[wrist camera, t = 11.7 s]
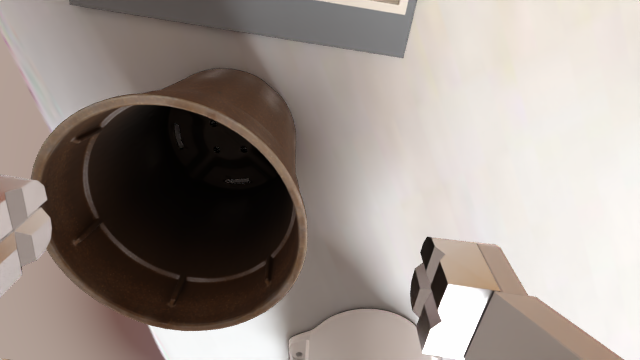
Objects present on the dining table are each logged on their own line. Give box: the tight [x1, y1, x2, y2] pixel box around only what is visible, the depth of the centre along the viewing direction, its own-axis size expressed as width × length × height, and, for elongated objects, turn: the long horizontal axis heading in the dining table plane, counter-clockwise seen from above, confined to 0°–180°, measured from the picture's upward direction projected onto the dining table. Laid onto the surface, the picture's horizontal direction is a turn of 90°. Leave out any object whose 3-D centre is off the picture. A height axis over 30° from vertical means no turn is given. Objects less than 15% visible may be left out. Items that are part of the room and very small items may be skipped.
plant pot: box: [31, 69, 307, 331], centre depth 32 cm, size 16×16×16 cm
